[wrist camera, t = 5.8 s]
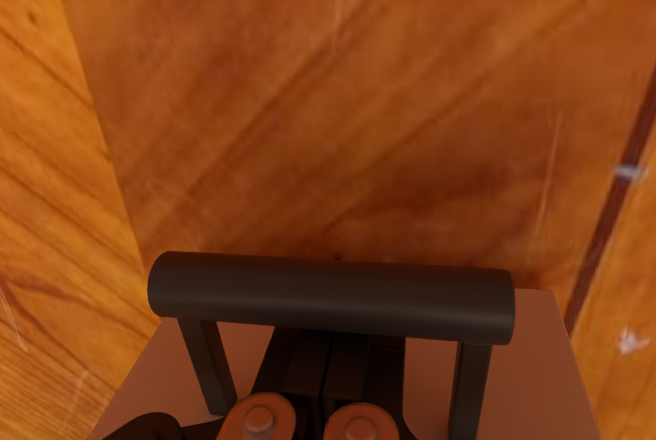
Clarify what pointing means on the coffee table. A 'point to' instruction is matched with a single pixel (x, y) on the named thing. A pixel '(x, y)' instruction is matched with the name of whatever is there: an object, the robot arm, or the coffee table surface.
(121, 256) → the coffee table surface
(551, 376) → the drawer
